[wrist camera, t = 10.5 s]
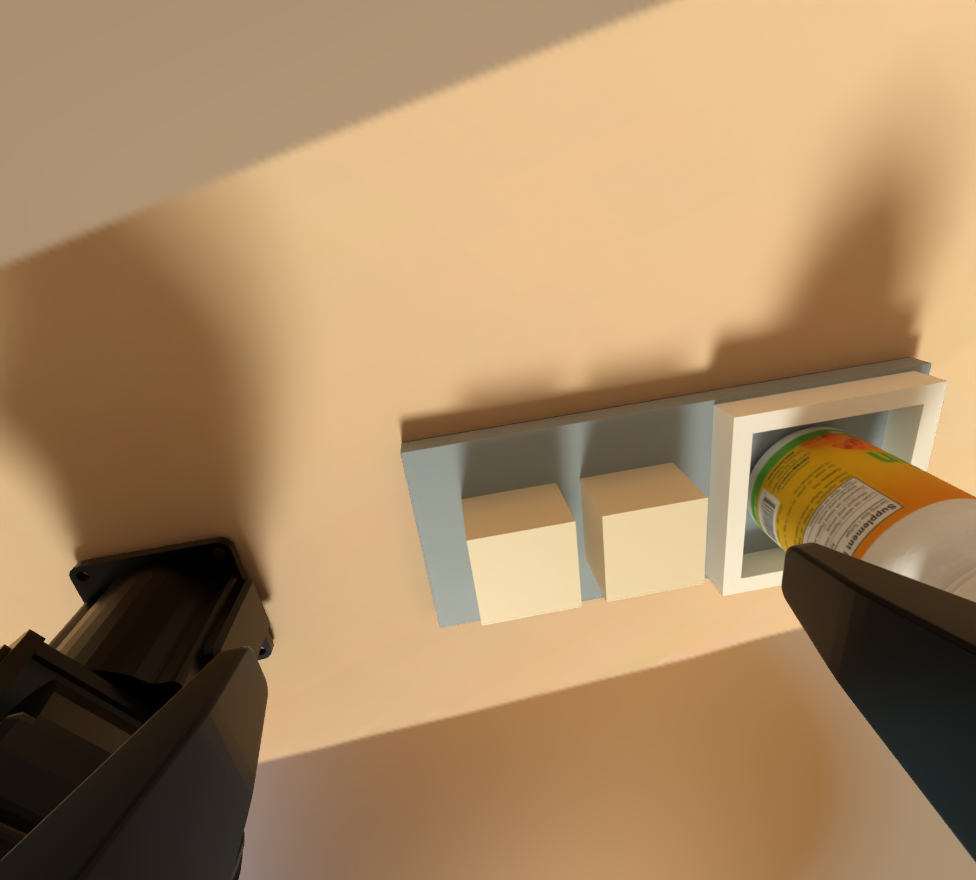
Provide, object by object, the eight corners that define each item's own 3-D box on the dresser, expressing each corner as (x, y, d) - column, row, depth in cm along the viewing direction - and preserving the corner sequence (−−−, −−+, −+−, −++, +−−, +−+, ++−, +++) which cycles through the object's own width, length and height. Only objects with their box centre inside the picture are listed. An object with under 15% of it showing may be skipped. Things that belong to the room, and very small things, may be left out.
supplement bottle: (883, 458, 23) (1172, 611, 14) (798, 549, 24) (1011, 738, 16) (802, 400, 21) (1071, 531, 12) (717, 501, 23) (902, 681, 14)
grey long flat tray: (439, 612, 25) (441, 681, 21) (401, 442, 21) (396, 489, 17) (875, 532, 26) (949, 583, 22) (910, 357, 22) (1006, 384, 19)
